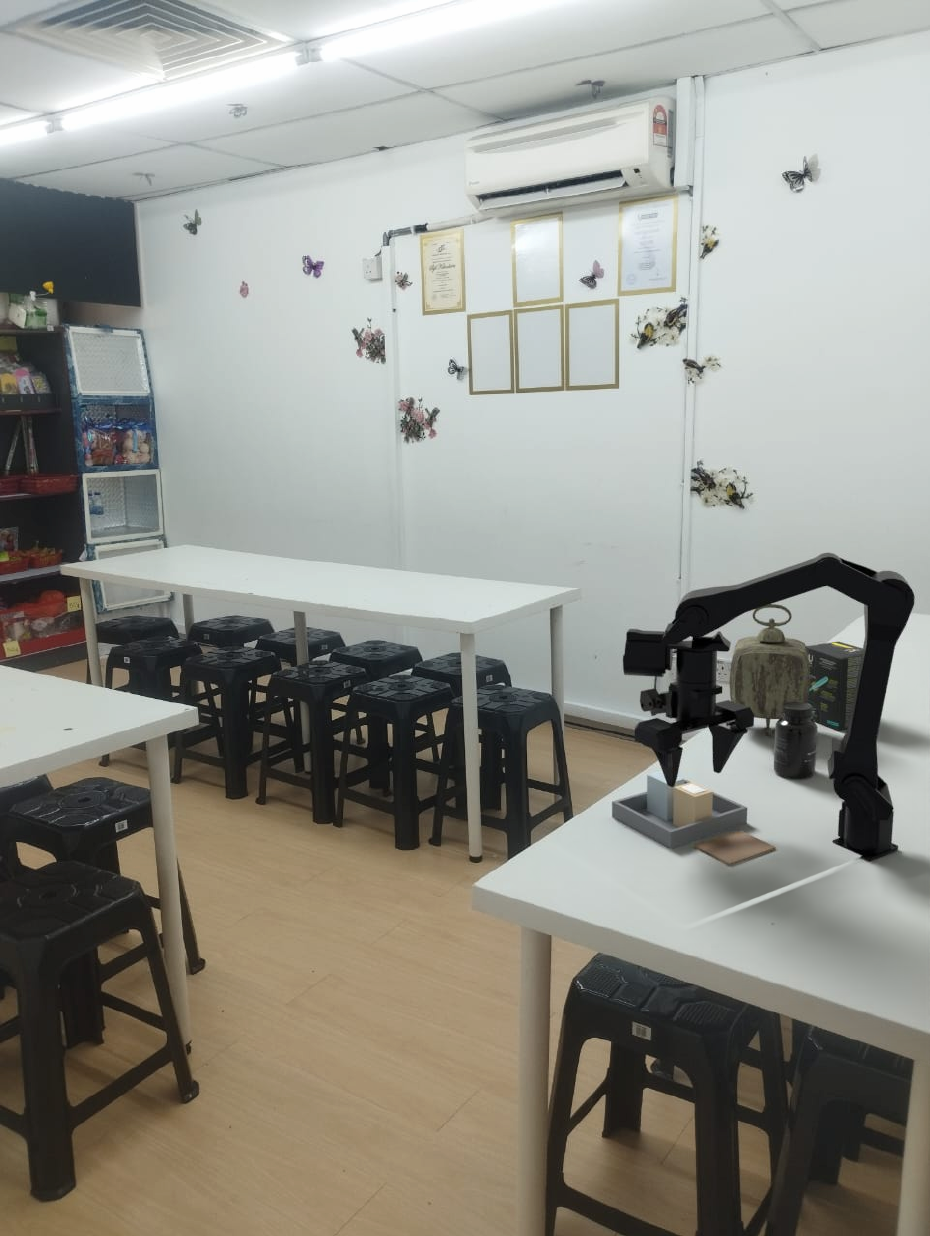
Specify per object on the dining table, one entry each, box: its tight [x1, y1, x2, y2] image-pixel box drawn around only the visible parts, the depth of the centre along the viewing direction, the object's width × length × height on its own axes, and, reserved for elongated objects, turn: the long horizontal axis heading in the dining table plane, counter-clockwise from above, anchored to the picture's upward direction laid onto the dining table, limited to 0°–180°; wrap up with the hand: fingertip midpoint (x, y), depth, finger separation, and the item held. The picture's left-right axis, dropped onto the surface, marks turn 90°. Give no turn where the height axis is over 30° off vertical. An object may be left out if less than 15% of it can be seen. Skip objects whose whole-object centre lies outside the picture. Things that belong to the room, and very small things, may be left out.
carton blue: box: [646, 770, 685, 821], centre depth 150 cm, size 4×4×6 cm
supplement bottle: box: [773, 702, 818, 780], centre depth 165 cm, size 7×7×12 cm
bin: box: [611, 779, 748, 850], centre depth 148 cm, size 13×15×3 cm
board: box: [693, 829, 777, 867], centre depth 139 cm, size 7×9×1 cm
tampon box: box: [806, 641, 863, 731], centre depth 190 cm, size 11×9×15 cm
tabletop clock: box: [729, 603, 810, 736], centre depth 184 cm, size 14×9×25 cm, turn 72°
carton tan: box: [673, 781, 714, 827], centre depth 145 cm, size 4×4×6 cm
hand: (694, 779), depth 144 cm, fingers open, 9 cm apart
